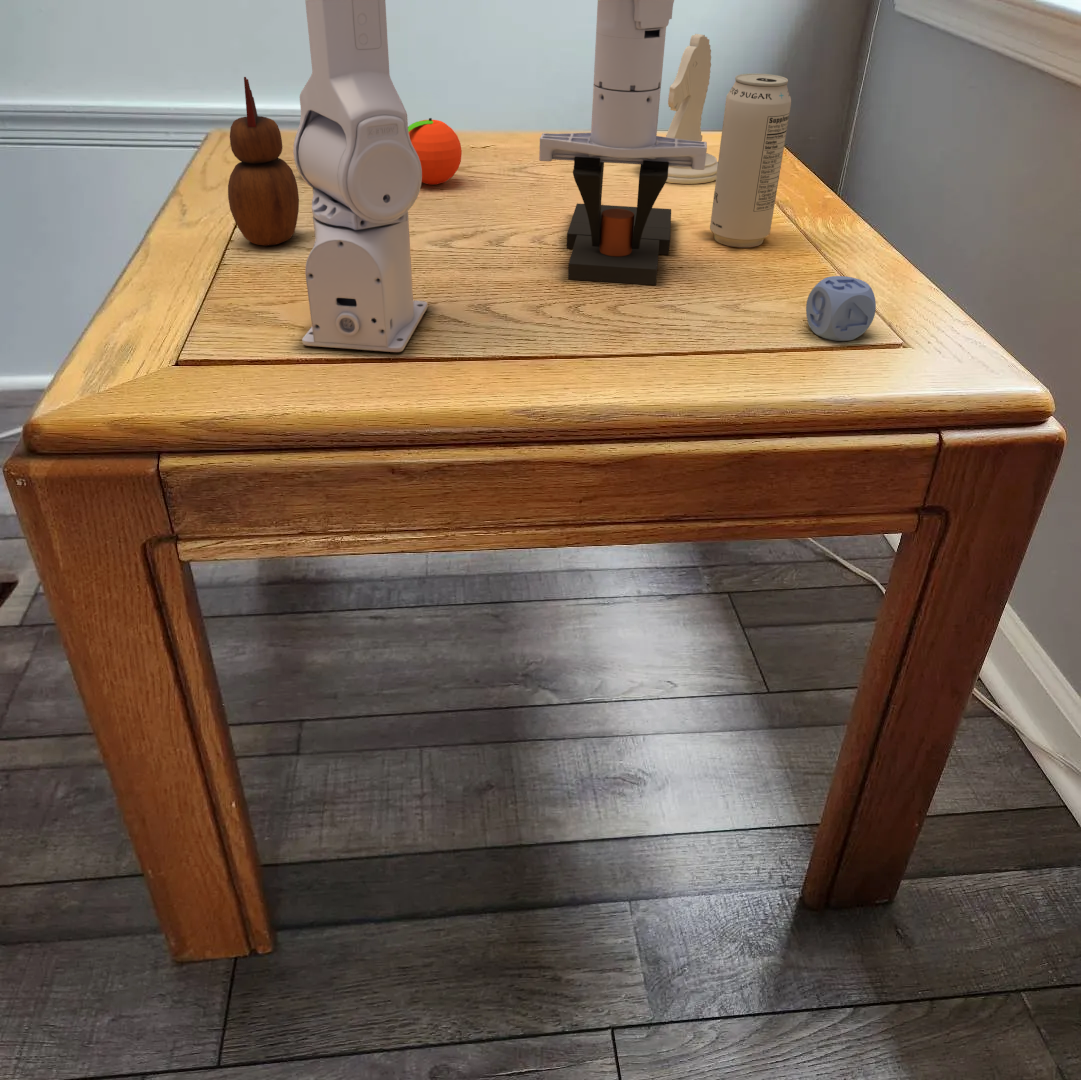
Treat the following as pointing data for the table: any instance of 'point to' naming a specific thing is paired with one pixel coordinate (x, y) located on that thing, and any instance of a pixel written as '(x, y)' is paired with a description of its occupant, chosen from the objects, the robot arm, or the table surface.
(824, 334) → the decorative dice
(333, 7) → the robot arm
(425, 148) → the clementine
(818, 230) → the table surface
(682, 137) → the chess piece
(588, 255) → the pad
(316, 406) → the table surface
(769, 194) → the energy drink can
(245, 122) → the wooden figurine
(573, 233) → the base pad
